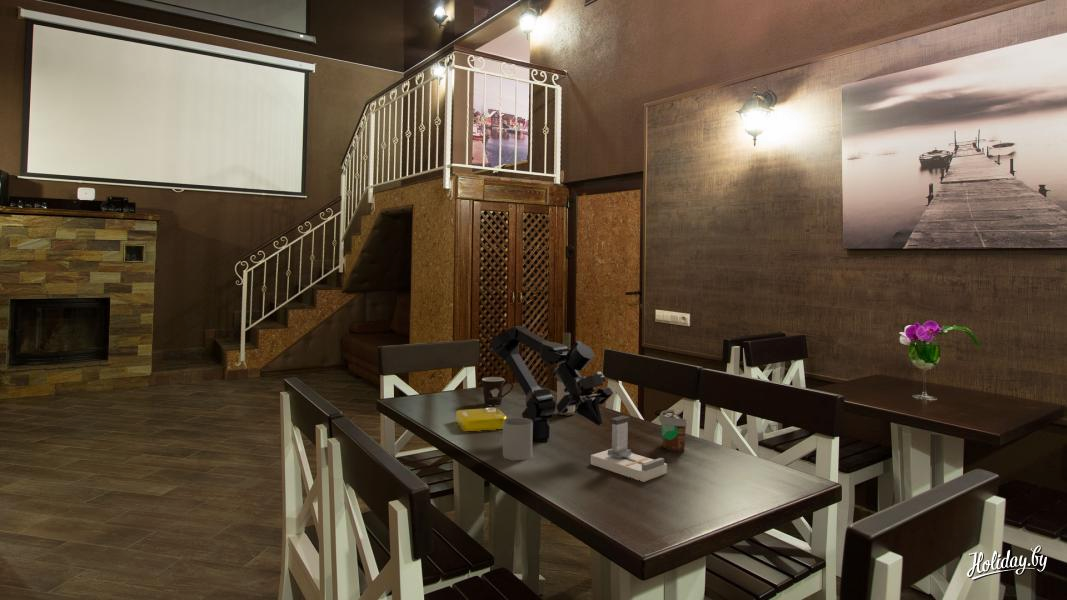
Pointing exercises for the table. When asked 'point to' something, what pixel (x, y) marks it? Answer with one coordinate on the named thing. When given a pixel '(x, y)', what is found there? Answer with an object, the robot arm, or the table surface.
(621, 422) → the fader
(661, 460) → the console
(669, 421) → the food container
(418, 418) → the table surface
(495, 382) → the coffee mug
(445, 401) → the table surface
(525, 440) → the cup
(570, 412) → the bottle
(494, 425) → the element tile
